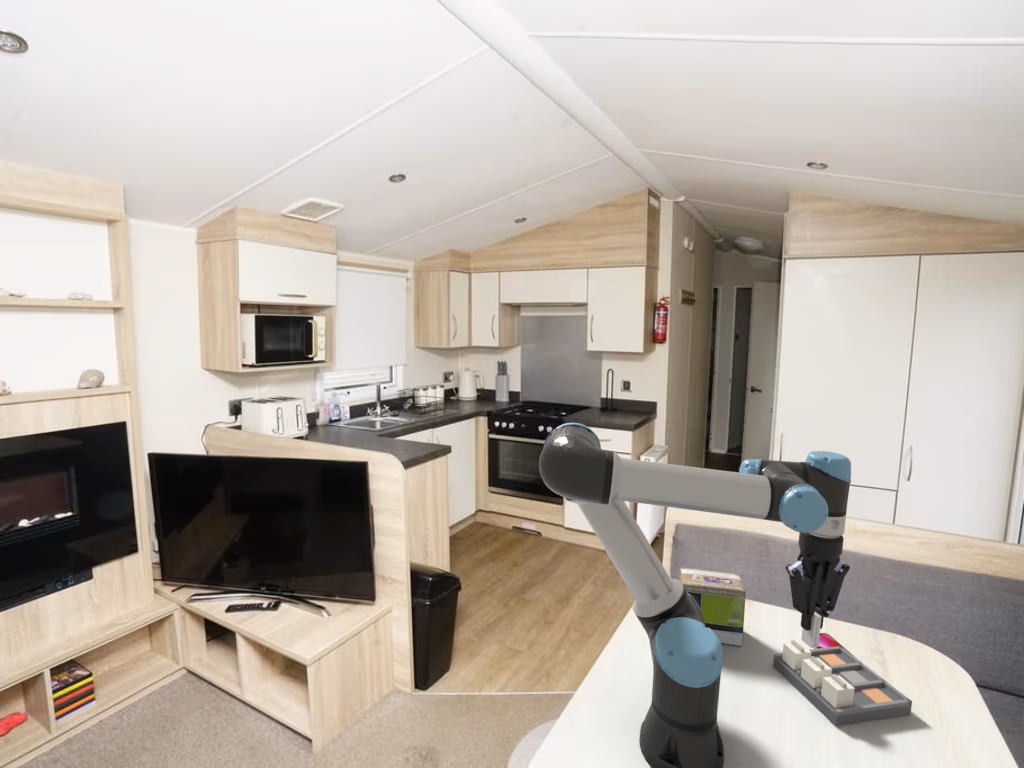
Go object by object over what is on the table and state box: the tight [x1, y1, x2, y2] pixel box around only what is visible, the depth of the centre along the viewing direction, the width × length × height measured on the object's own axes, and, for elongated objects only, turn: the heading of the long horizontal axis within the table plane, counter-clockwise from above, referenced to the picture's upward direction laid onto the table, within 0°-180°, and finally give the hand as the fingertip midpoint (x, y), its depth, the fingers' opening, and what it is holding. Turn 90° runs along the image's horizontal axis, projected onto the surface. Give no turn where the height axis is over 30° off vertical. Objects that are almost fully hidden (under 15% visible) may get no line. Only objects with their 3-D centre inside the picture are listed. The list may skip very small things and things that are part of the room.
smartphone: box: [813, 632, 858, 659], centre depth 134 cm, size 7×1×15 cm
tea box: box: [679, 567, 747, 647], centre depth 141 cm, size 15×10×15 cm, turn 77°
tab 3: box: [821, 674, 855, 708], centre depth 113 cm, size 4×4×5 cm
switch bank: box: [772, 646, 913, 728], centre depth 121 cm, size 18×19×3 cm
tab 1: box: [782, 639, 811, 670], centre depth 125 cm, size 4×4×5 cm
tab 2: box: [801, 656, 832, 688], centre depth 119 cm, size 4×4×5 cm
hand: (809, 643), depth 110 cm, fingers closed
